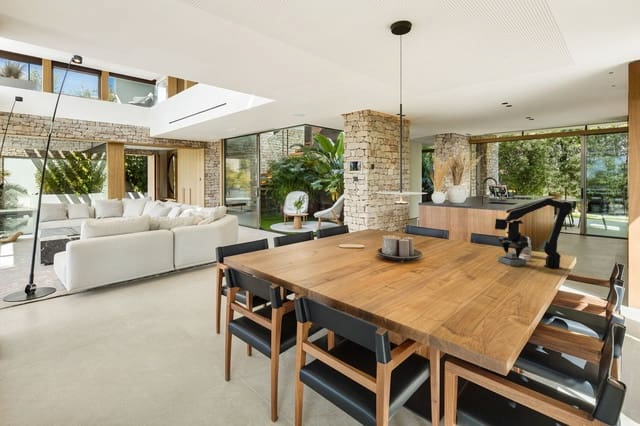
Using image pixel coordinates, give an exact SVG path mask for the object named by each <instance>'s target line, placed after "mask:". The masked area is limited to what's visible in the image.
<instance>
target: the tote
mask: <svg viewBox="0 0 640 426" xmlns="http://www.w3.org/2000/svg"><path fill="white" fill-rule="evenodd" d="M498 263H500V264H503V265H506V266H508V267H523V266H527V261H526V260H525V259H522V258H519V260H509V259H506V255H501V256H500V255H499V256H498Z"/></svg>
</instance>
